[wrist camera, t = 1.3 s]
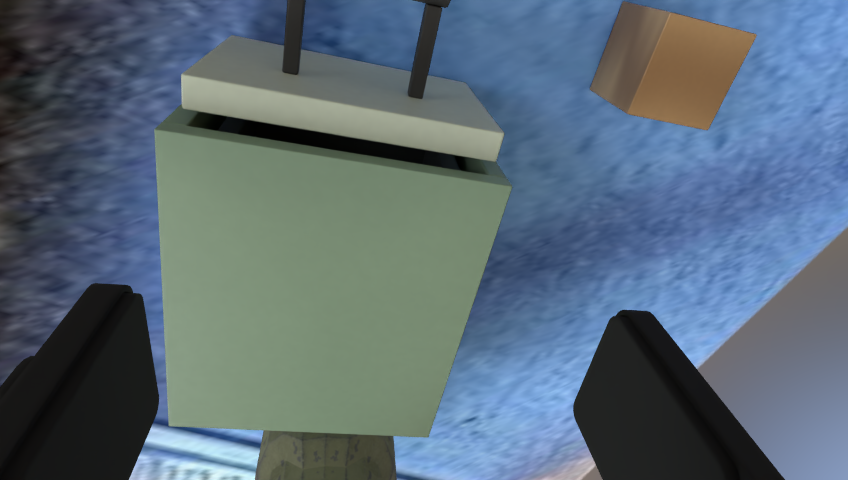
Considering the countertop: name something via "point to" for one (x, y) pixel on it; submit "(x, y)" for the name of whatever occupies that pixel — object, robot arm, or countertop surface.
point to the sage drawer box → (314, 280)
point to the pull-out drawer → (342, 98)
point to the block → (669, 65)
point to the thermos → (325, 456)
